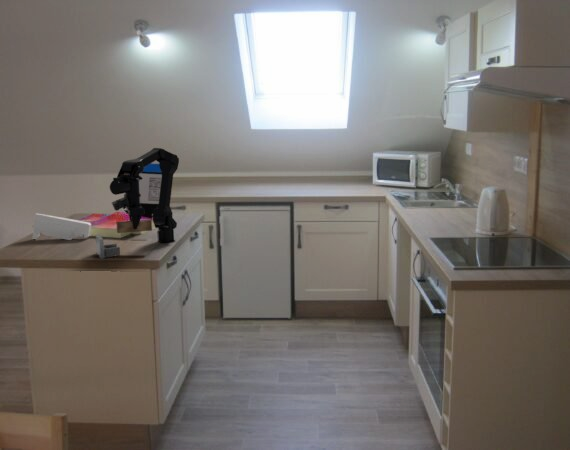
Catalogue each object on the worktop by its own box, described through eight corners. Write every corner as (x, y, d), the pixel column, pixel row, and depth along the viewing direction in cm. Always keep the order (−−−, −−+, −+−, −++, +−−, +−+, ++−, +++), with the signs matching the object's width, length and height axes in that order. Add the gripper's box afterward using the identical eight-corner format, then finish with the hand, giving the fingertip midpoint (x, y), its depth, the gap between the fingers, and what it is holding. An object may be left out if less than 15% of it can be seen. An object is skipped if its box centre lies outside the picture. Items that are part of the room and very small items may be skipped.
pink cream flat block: (61, 235, 299) (59, 214, 297) (91, 224, 323) (89, 204, 321) (132, 240, 289) (131, 218, 287) (158, 228, 313) (157, 208, 311)
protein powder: (162, 223, 324) (159, 165, 317) (123, 219, 333) (120, 163, 326) (172, 219, 332) (170, 163, 326) (134, 216, 341) (131, 161, 335)
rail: (117, 233, 261) (117, 223, 260) (116, 231, 264) (116, 221, 264) (151, 230, 265) (151, 221, 264) (150, 228, 269) (150, 219, 268)
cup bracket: (116, 251, 268) (114, 232, 266) (120, 256, 259) (119, 237, 257) (96, 253, 264) (95, 234, 263) (100, 258, 255) (99, 239, 254)
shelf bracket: (34, 238, 292) (38, 212, 290) (88, 248, 294) (92, 222, 292) (30, 241, 287) (33, 214, 284) (85, 251, 289) (89, 225, 286)
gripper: (109, 189, 267) (111, 225, 270) (116, 195, 250) (118, 234, 253) (135, 188, 271) (137, 223, 274) (144, 194, 254) (146, 231, 257)
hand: (134, 228), depth 265 cm, fingers closed on rail, 4 cm apart
